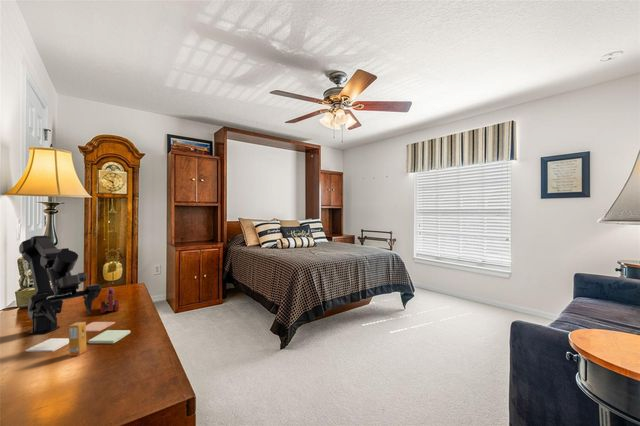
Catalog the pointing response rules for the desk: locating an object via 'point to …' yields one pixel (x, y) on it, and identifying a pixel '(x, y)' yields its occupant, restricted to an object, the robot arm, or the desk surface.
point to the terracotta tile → (97, 326)
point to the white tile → (49, 345)
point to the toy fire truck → (110, 302)
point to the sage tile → (109, 336)
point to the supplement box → (77, 338)
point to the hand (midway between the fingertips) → (73, 317)
